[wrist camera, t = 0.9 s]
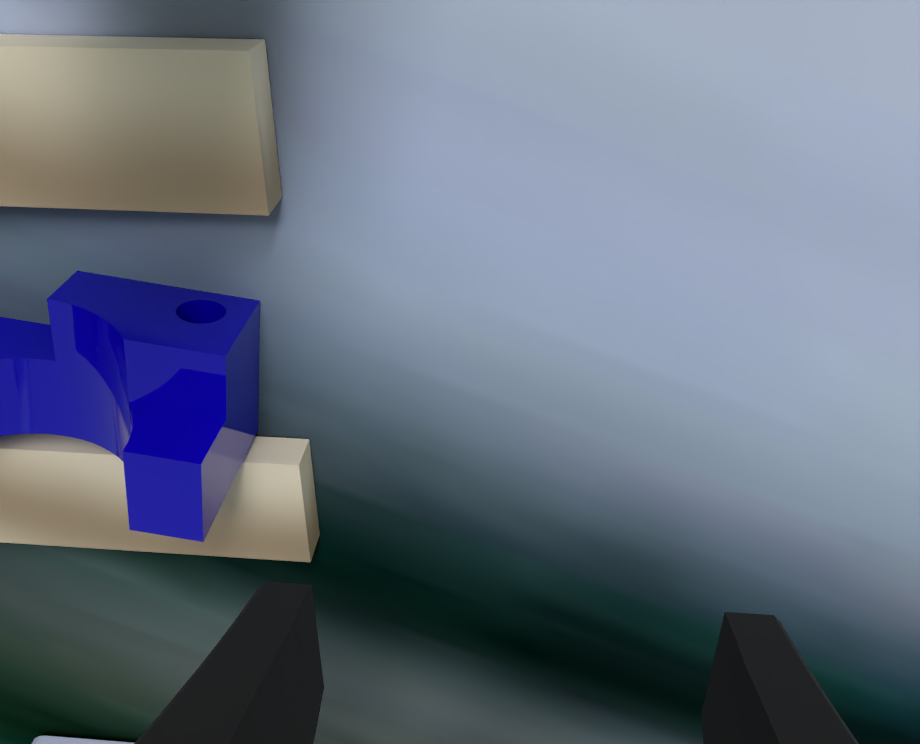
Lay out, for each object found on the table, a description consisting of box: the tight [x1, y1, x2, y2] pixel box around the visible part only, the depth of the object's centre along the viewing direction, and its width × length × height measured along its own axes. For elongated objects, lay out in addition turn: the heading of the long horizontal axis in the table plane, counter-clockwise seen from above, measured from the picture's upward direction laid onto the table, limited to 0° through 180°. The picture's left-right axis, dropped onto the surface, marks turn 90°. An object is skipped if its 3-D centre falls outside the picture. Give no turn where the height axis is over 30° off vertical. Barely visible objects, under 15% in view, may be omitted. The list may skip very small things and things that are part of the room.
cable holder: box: [0, 271, 260, 542], centre depth 18 cm, size 8×4×4 cm, turn 82°
